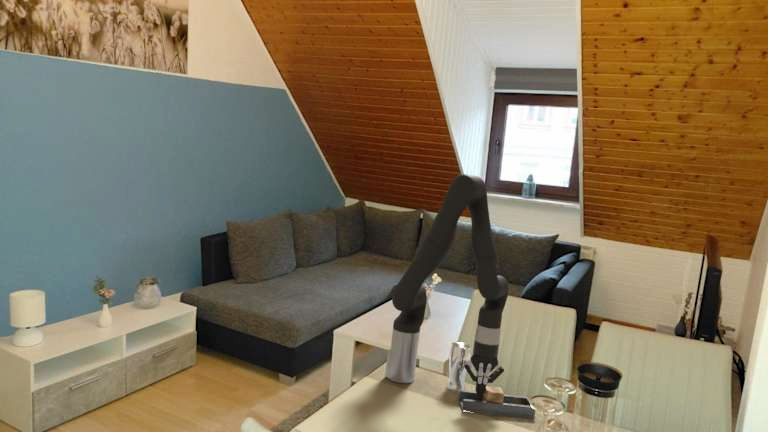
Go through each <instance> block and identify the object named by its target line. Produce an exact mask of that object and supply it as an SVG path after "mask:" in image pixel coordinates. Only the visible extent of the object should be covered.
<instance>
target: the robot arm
mask: <svg viewBox="0 0 768 432" xmlns="http://www.w3.org/2000/svg"><path fill="white" fill-rule="evenodd" d="M466 208H467V209H468V211H469V215H470V220H471V233H470V234H471V236H470V239H471V240H470V243H471V248H472V249H471V250H472V253H473V257H474V261H475V265H476V283H477V285H476V286H477V288H478V291H479V294H480V296H482V297H483V299H484V303H483V305H481V306H480V308H479V311H478V317H477V324H476V329H475V333H474V342H473V350H472V355H471V356H470V361H468V362H464V363H463V365H464V367H465V369H466V370H467V375H469V377H470V378H471V380H472V381H473V382H476V383H475V392H476V393H477V394H478V395H480V396H483V394H485V391H486V386H487V384H493V383H494V382H495V381H496V380H497V379H498V378H499V377H500V376H501V375H502V374H503V373H505V369H504V367H503V366H502V365H500V364H499V359H498V355H499V347H500V340H501V324H502V317H503V311H504V310H505V306H506V303H507V300H508V296H509V291H510V289H509V287H510V286H509V283H508V280H507V279H506V278H505V277H504V276H502V275H498V272H497V266H498V265H499V263H500V261H499V256H498V252H497V248H496V245H495V244H496V243H495V240H494V236H493V231H492V226H491V220H490V212H489V202H488V193H487V185H486V183H485V181H484V180H483V179H482V177H480V176H478V175H474V174H465V173H463V174H458V175H456V176H455V178H453V180H451V182H450V184H449V187H448V188H447V191H446V193H445V196H444V199H443V201H442V203H441V206H440V207H439V210H438V211H437V214H436V216H435V218H434V220H433V221H432V224H431V225H430V227H429V229H428V231H426V234H425V235H424V238H423V239H422V241H421V243H420V245H419V248H418V250H417V251H416V253H415V255H414V257H413V259H412V261H411V263H410V264H409V266H408V268H407V270H406V271H405V272H404V274H403V276H402V277H401V278H400V280H399V282H398V283H397V284H396V286H395V287H394V290H393V292H392V295H391V300H392V306H393V307H394V309H396V310H397V311H399V312H400V314H398V316H397V317H396V318H395V319H394V320H393V326H392V335H391V342H390V348H389V349H388V350H387V357H386V363H385V364H386V365H385V371H384V372H385V373H384V377H385V378H387V379H388V380H389V381H391V382H393V383H399V384H410V383H413V382H414V381H415V376H416V375H415V374H416V367H417V366H416V365H417V359H418V358H417V357H418V349H419V340H420V334H421V333H420V332H421V328H422V325H423V323H424V320H425V315H426V310H427V309H426V308H427V303H428V302H427V301H428V297H427V295H428V294H427V290H426V288H425V286H424V285H423V284H424V283H425V281H426V280H427V279H428V278H429V276H430V275H432V273H434V271H436V270H437V269H438V268H439V267H440V266H441V264H442V263H444V261H445V260H446V258H447V256H448V255H449V253H450V251H451V249H452V247H453V245H454V242H455V239H456V235H457V234H456V233H457V225H458V222H459V220H460V217H461V216H462V214H463V213H464V210H465V209H466ZM472 367H473V368H474V369H475V371H476V375H475V373H473V371H472Z"/></svg>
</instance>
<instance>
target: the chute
mask: <svg viewBox="0 0 768 432" xmlns="http://www.w3.org/2000/svg"><path fill="white" fill-rule="evenodd" d="M483 395H484V394H483ZM529 401H531V399H530V398H529V397H528V396H521V395H510V394H504V399H503V403H498V402H488V401H483V396H480V395H478V394H477V393H476V391H471V390H465V391H464V390H460V391H459V392H458V399H457V402H458V404H459V406H460V409H461V408H462V409H463V410H466V411H470V412H474V413H478V414H477V415H485V416H494V417H495V416H496V417H505V418H515V419H523V420H535V418H536V417H535V415H536V409H535V410H534V409H532V408H531V406H530V403H529ZM462 409H461V410H462ZM474 413H473V414H474Z"/></svg>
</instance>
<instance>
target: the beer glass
mask: <svg viewBox="0 0 768 432" xmlns="http://www.w3.org/2000/svg"><path fill="white" fill-rule="evenodd" d="M471 351H472V346H471V345H470V344H469V343H466V342H461V341H459V342H458V341H453V342H451V346H450V351H449V355H448V356H449V358H448V367H449V371H448V372H449V374H448V375H449V376H448V382H447V384H446V388H447V389H448V390H449V391H452V392H456V393H459V391H460V390H464V391H466V377H467V374H468V372H467V370H466V369H465V367H464V365H463V363H464V362H468V361H470V359H471V357H472V355H471V354H472V353H471Z"/></svg>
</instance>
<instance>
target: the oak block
mask: <svg viewBox="0 0 768 432" xmlns="http://www.w3.org/2000/svg"><path fill="white" fill-rule="evenodd" d="M504 395H505V393H504V391H503V390H502V388H501V387H500V386H490V385H486V391H485V394H484V395H483V401H488V402H498V403H503V399H504Z"/></svg>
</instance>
